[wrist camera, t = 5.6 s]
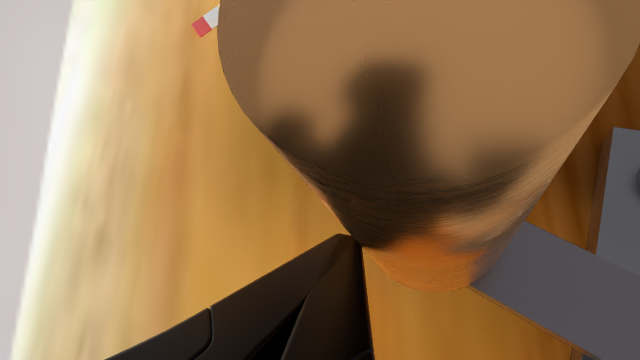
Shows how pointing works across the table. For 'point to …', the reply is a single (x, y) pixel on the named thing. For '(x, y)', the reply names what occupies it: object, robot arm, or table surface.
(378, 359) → the table surface
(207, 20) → the pencil
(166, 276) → the table surface
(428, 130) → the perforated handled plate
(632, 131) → the base plate
